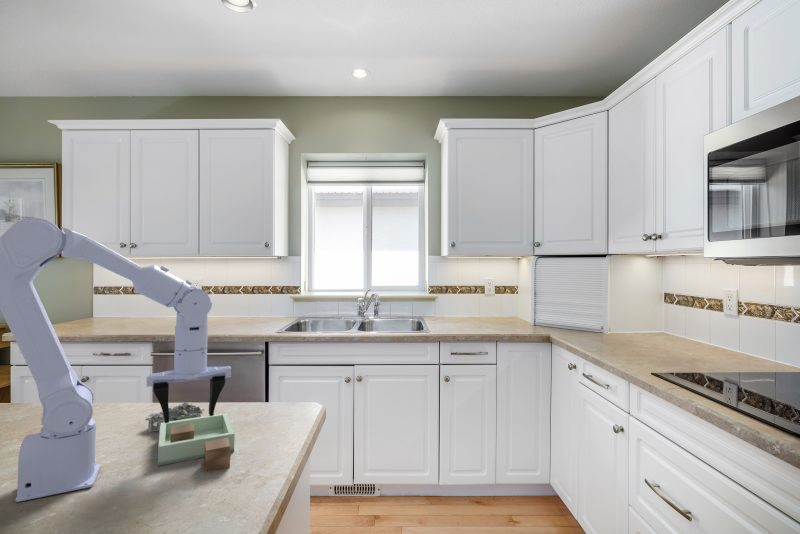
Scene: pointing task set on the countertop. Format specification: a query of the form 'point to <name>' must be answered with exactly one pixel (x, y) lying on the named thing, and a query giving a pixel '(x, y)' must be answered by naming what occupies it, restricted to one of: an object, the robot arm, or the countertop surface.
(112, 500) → the countertop surface
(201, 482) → the countertop surface
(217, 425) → the dish
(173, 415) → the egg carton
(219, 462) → the block
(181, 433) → the block
